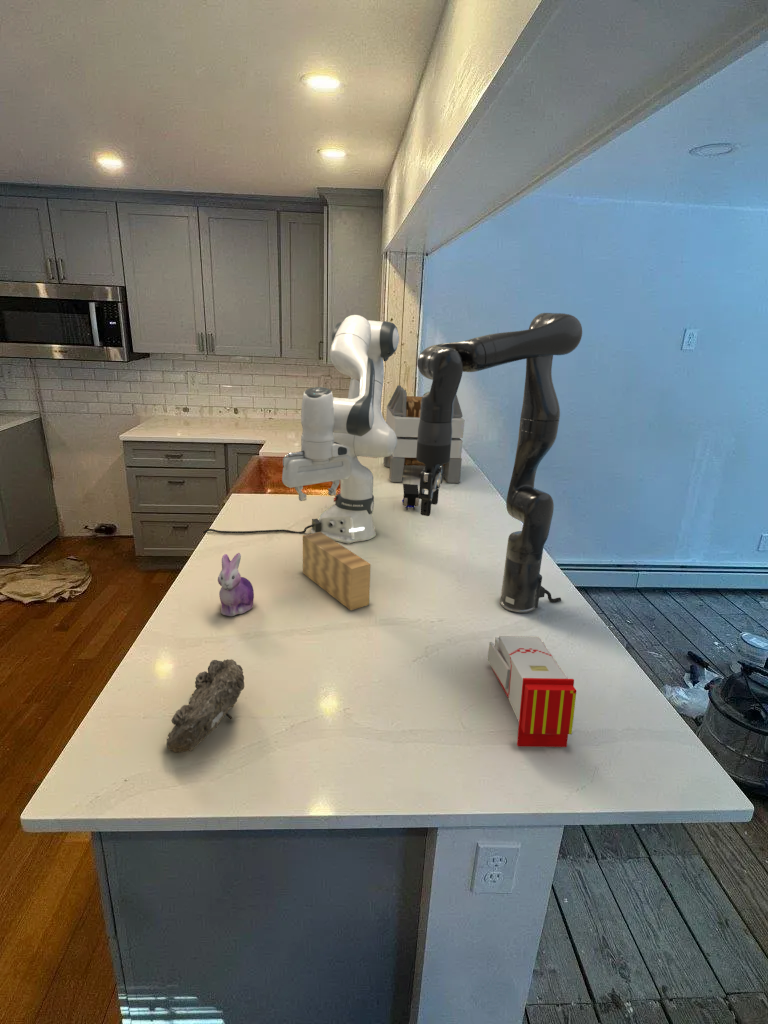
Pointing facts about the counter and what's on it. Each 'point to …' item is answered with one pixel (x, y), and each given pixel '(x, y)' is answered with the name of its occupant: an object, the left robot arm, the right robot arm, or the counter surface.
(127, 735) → the counter surface
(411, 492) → the figurine character
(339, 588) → the box
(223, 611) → the figurine
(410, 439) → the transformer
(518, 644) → the toy
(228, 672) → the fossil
